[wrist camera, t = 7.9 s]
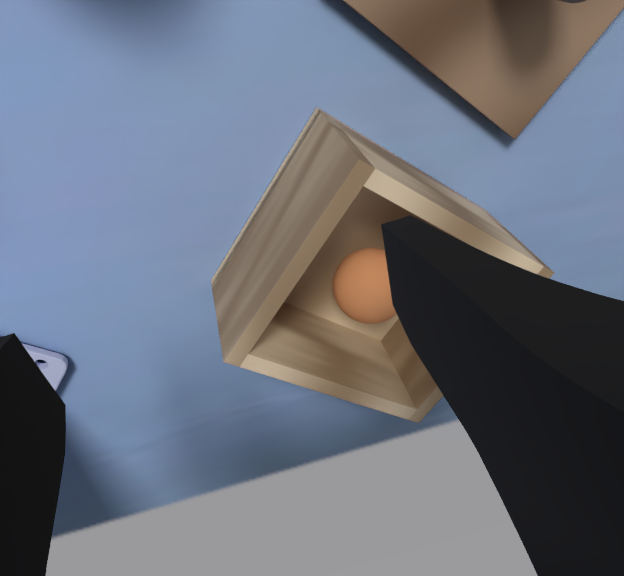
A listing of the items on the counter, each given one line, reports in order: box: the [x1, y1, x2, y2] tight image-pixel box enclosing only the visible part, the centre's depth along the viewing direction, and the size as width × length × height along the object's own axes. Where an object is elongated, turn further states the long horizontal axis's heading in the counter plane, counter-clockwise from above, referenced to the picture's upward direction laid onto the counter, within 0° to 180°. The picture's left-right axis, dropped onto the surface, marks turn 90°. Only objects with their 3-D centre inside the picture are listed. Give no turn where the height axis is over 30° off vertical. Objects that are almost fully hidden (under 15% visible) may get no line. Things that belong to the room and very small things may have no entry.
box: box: [211, 107, 554, 423], centre depth 21 cm, size 9×8×5 cm
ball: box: [333, 248, 397, 324], centre depth 22 cm, size 3×3×3 cm
